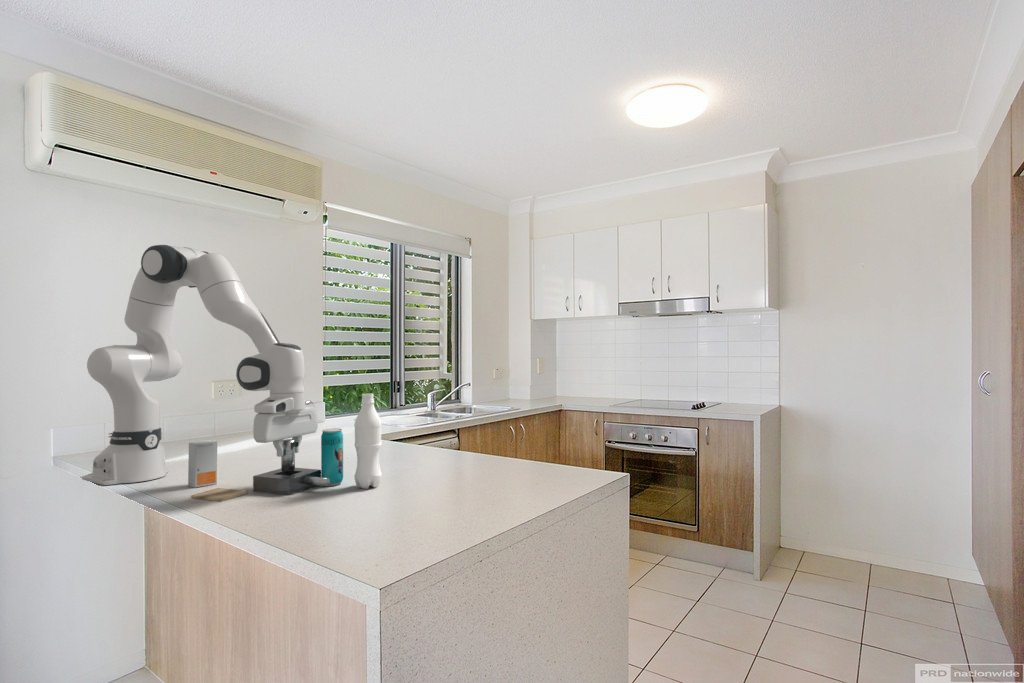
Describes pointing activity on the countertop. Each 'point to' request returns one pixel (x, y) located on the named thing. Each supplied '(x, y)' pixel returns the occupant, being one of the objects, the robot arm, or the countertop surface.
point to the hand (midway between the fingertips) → (287, 454)
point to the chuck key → (289, 455)
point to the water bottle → (367, 444)
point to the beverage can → (332, 455)
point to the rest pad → (219, 494)
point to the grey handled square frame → (288, 481)
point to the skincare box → (202, 463)
